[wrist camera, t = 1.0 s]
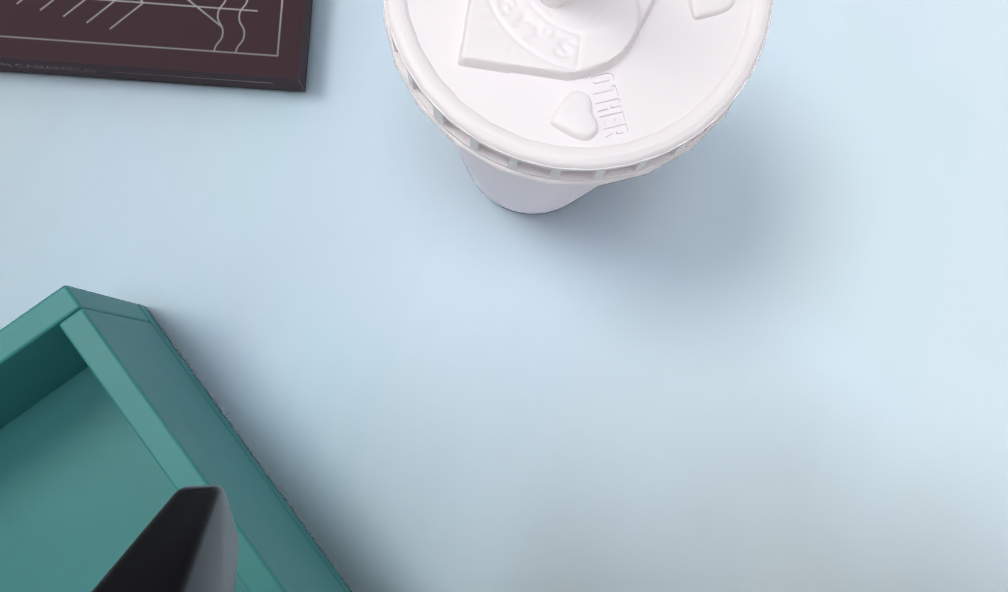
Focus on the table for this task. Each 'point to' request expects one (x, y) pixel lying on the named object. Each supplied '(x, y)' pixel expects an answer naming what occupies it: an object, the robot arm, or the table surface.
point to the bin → (122, 453)
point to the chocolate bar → (161, 40)
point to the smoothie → (573, 84)
